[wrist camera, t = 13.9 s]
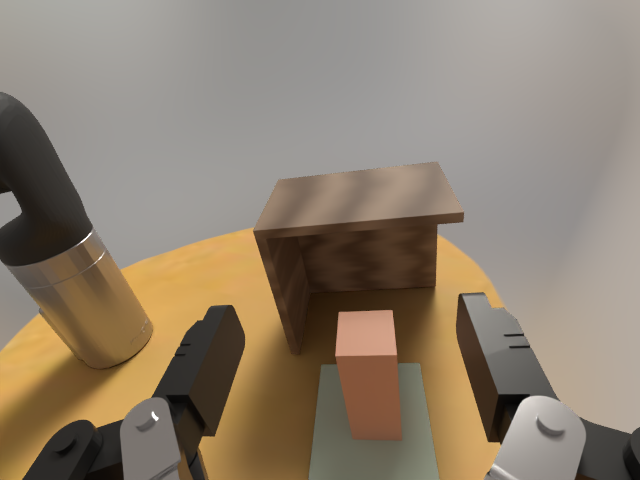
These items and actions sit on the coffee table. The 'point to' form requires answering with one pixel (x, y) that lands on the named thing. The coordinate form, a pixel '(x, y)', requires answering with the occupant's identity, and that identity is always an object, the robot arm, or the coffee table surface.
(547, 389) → the robot arm
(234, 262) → the coffee table surface
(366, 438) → the terracotta block
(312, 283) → the walnut box
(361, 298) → the coffee table surface
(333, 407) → the sage mat
